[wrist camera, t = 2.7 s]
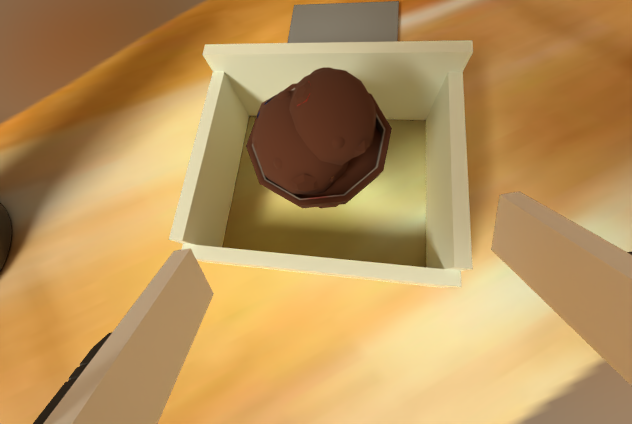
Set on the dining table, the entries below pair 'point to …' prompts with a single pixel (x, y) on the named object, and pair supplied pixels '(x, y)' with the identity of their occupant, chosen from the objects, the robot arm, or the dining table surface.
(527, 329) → the dining table surface
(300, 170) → the ice cream bowl
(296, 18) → the slate mat
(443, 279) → the drawer
